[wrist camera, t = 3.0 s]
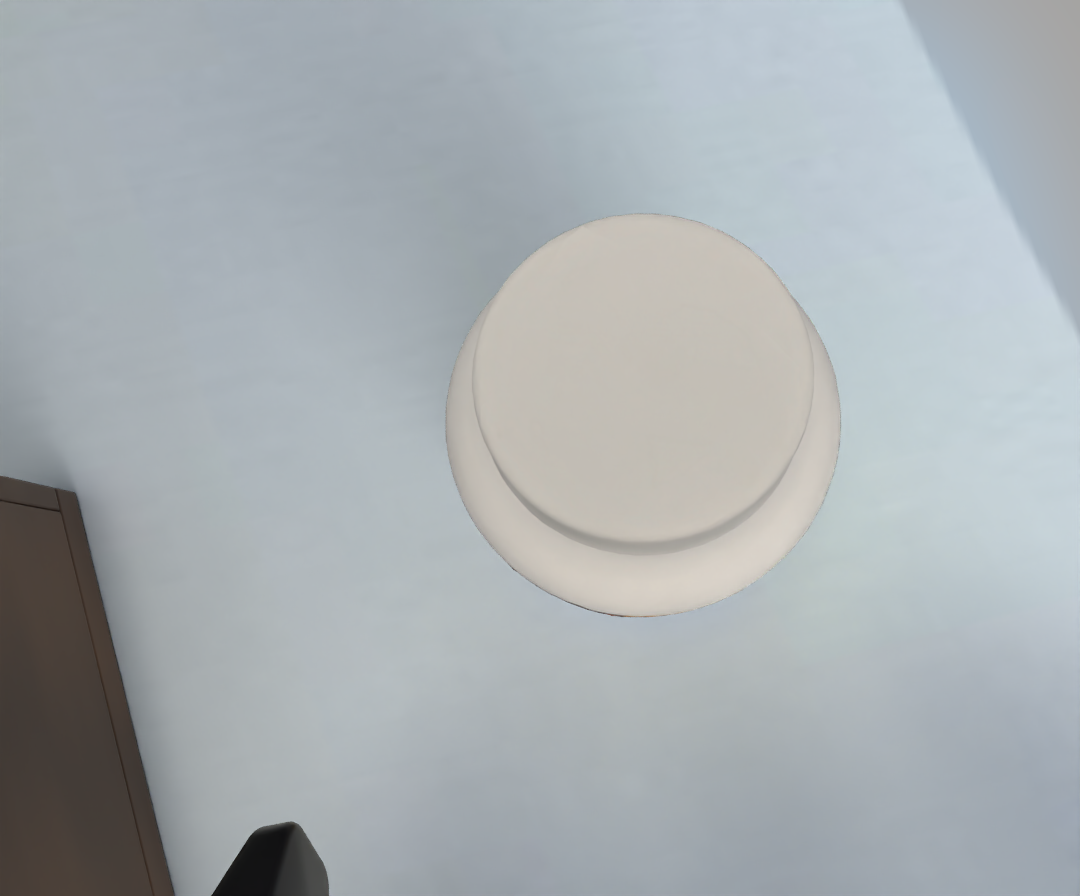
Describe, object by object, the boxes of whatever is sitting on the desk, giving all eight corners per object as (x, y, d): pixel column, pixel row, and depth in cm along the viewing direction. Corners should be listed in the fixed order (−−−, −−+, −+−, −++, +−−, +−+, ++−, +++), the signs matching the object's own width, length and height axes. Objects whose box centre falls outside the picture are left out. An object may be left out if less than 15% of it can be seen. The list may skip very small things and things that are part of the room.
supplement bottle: (490, 592, 20) (351, 565, 10) (537, 353, 21) (451, 117, 11) (744, 641, 20) (856, 662, 10) (781, 391, 21) (920, 174, 11)
